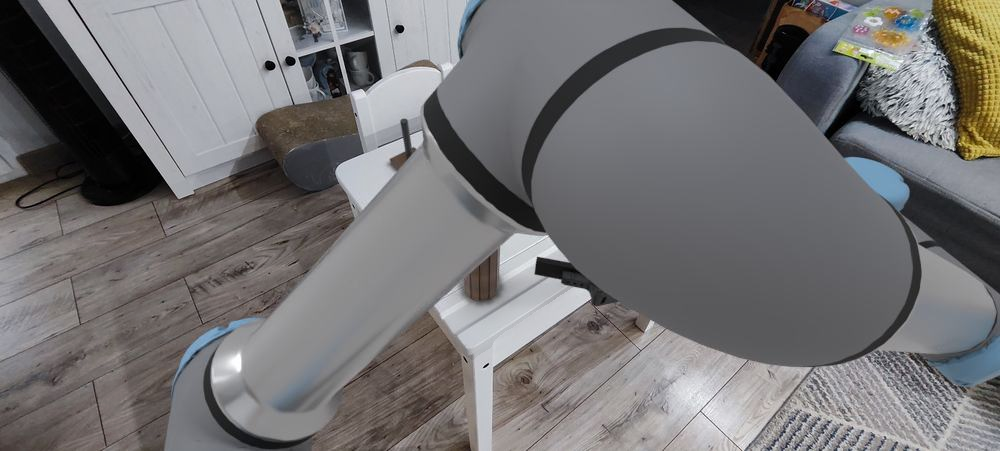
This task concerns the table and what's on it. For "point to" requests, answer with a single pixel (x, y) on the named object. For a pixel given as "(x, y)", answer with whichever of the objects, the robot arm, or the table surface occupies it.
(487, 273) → the brown wooden hollow cylinder
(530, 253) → the table surface
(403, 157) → the peg stand
